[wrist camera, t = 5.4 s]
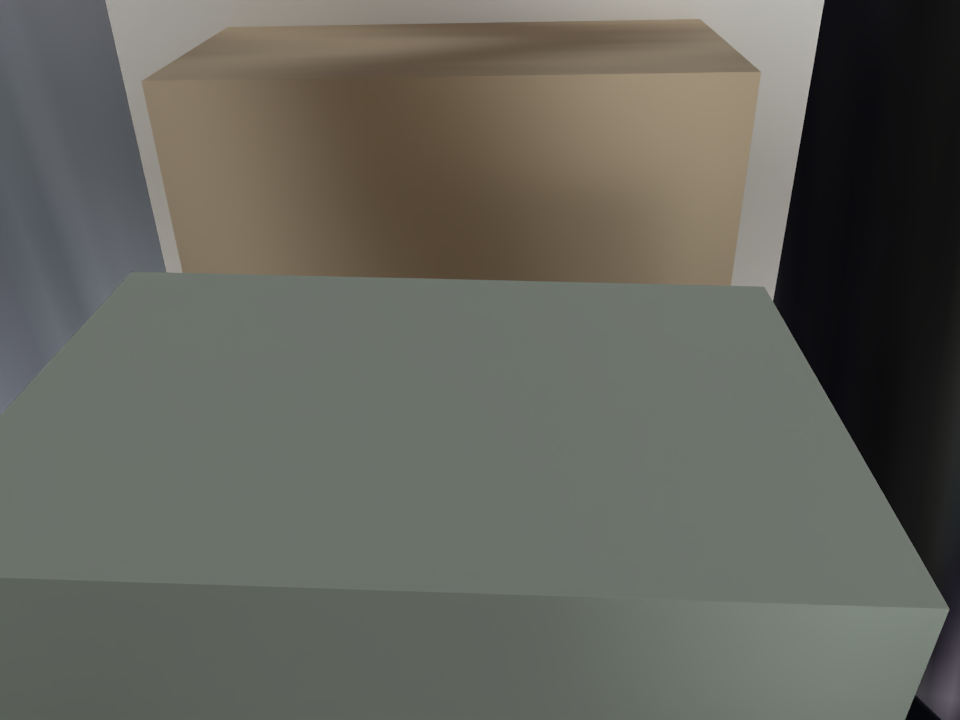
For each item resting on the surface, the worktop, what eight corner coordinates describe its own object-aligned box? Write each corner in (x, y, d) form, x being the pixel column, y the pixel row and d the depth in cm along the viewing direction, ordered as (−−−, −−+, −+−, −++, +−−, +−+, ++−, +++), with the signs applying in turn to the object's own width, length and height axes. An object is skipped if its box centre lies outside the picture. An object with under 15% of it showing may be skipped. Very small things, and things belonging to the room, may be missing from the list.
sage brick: (763, 286, 8) (950, 610, 5) (681, 705, 11) (756, 1089, 8) (131, 271, 8) (-145, 574, 5) (221, 689, 11) (93, 1056, 8)
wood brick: (699, 18, 14) (761, 71, 11) (659, 415, 18) (694, 544, 15) (227, 27, 15) (141, 80, 11) (289, 415, 19) (240, 542, 15)
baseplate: (826, -193, 14) (858, -198, 13) (721, 481, 21) (735, 522, 20) (104, -175, 14) (65, -178, 13) (239, 480, 22) (222, 520, 20)
